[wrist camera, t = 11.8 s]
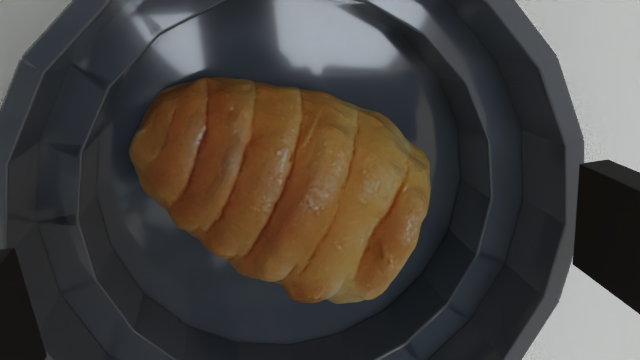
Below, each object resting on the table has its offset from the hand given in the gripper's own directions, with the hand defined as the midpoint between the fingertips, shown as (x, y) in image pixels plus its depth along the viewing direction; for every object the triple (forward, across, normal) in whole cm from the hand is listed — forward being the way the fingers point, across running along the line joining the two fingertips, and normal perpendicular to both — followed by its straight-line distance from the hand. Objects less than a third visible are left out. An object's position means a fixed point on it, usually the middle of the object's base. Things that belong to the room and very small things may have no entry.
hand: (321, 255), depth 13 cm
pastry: (+7, 0, 0) cm, 7 cm away
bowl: (+7, 0, -1) cm, 8 cm away
